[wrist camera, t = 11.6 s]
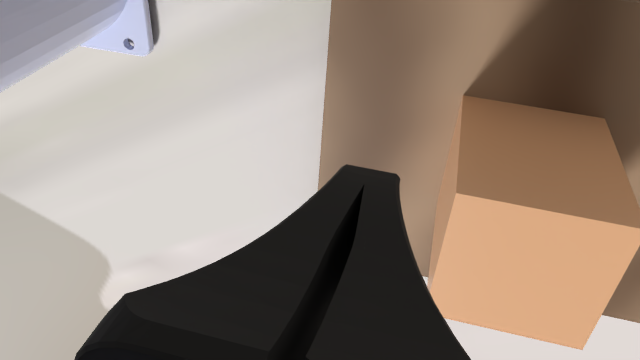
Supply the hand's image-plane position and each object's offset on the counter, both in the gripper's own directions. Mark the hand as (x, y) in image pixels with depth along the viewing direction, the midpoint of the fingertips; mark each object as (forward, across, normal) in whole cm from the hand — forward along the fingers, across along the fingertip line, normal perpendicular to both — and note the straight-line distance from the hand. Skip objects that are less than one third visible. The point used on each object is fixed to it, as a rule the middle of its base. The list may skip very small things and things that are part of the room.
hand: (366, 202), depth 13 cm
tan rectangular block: (+9, -5, +4) cm, 11 cm away
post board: (+10, -5, +4) cm, 12 cm away
